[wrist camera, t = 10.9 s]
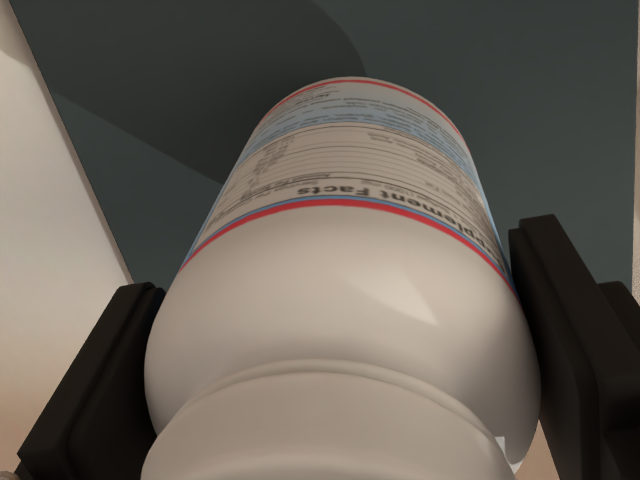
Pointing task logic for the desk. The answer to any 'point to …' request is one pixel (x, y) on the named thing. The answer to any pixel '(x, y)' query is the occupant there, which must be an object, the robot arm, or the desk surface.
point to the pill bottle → (344, 308)
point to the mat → (345, 61)
